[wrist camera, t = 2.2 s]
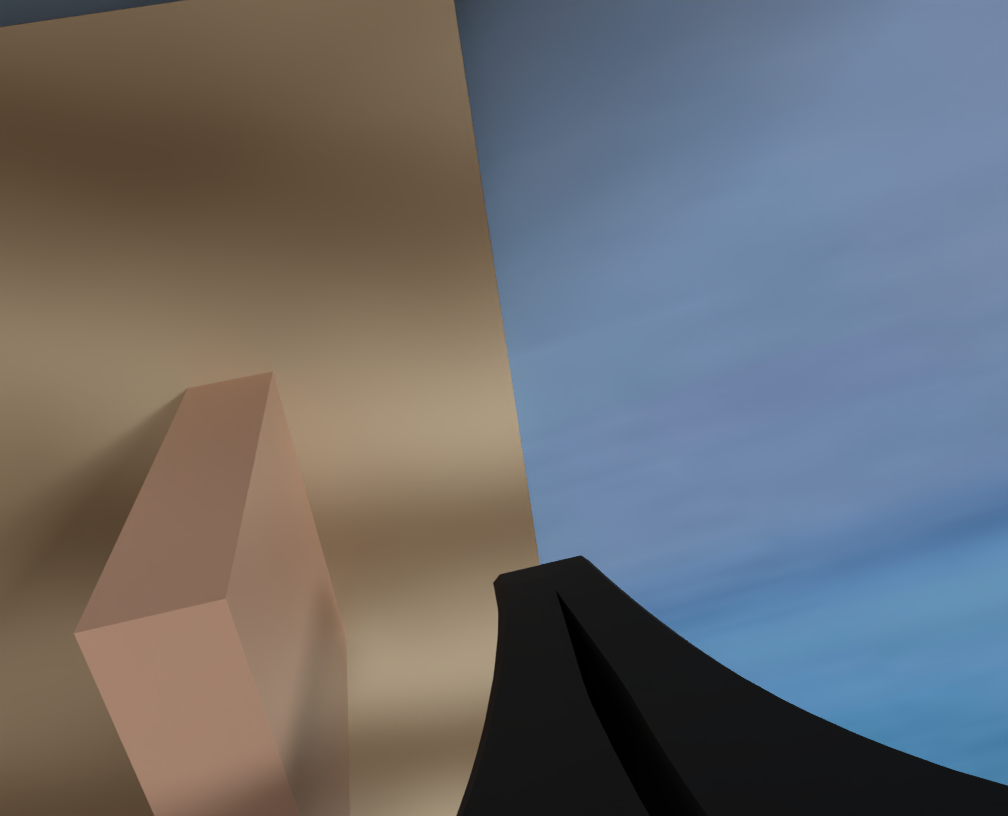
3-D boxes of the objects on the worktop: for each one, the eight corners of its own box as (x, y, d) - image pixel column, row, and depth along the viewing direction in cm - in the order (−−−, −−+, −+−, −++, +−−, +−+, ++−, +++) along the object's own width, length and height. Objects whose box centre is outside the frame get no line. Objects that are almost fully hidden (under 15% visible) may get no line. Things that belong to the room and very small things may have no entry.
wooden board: (567, 772, 21) (574, 791, 20) (-63, 940, 19) (-75, 966, 18) (443, -34, 13) (448, -38, 13) (-595, 117, 12) (-641, 120, 11)
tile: (346, 636, 17) (353, 970, 11) (268, 655, 17) (229, 1006, 11) (273, 371, 15) (225, 598, 8) (181, 389, 15) (62, 635, 8)
